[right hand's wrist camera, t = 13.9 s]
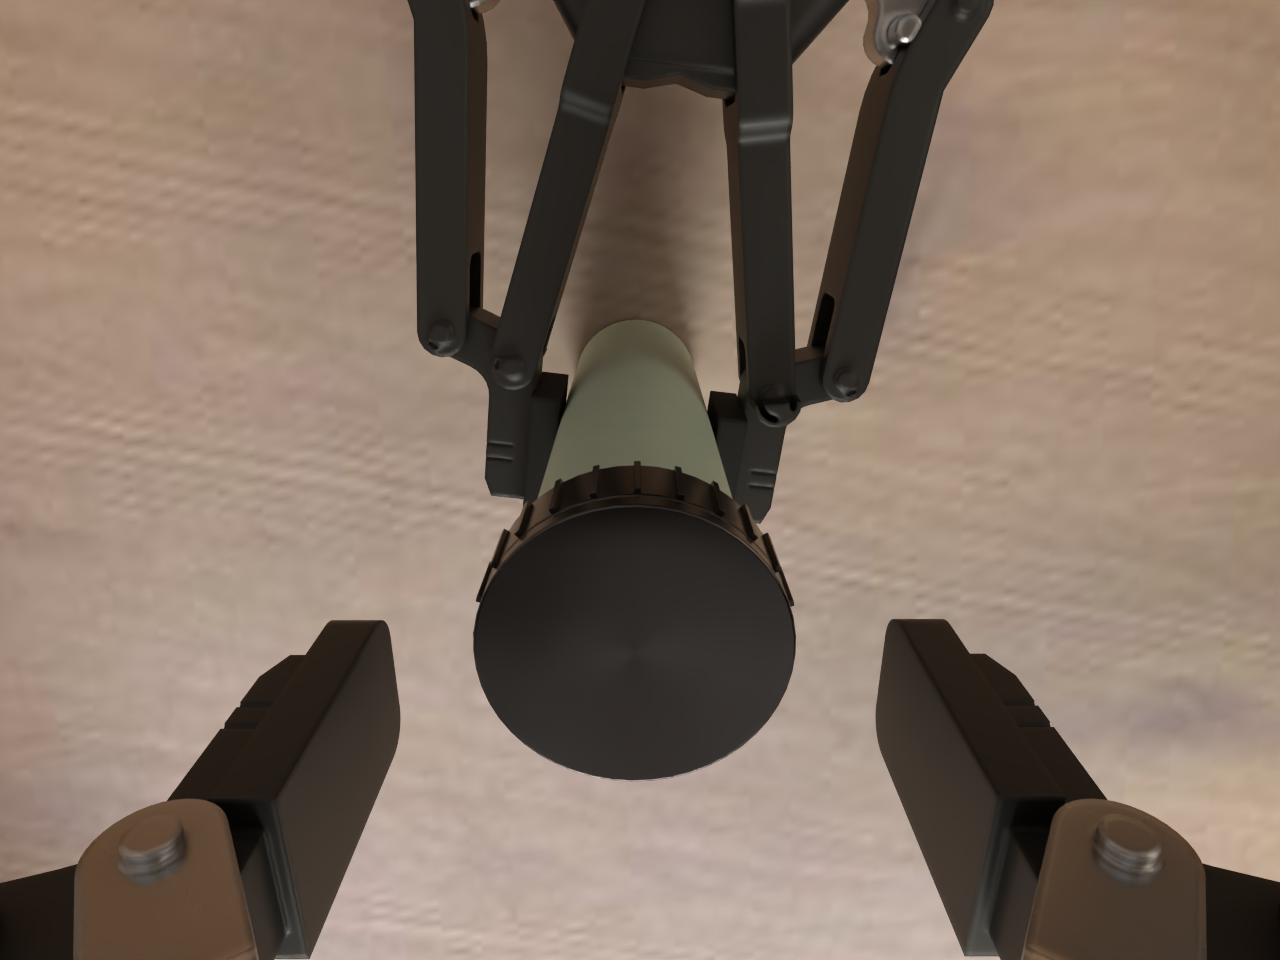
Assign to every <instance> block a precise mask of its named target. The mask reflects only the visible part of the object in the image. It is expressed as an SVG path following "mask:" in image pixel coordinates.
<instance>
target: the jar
mask: <svg viewBox="0 0 1280 960" xmlns="http://www.w3.org/2000/svg"><path fill="white" fill-rule="evenodd" d="M634 461H641V465H642V466H655V467H661V468H666V469H671V470H674V468H675V466H678V467H681V469H682V473H685V474H688V475H691V476H694V477H697V478H699V479H701V480H703V481H705V482H707V483H709V484H711V483H712V481H715V482H717V483H718V484H719V488H720V490H721V491H722V492H724V493H725V494H727V495H728V496H729V497H731V498H732V496H731V492H730V489H729V485H728V482H727V478H726V475H725V472H724V468H723V465H722V461H721V458H720V455H719V451H718V448H717V444H716V441H715V437H714V434H713V431H712V427H711V424H710V420H709V417H708V414H707V410H706V407H705V403H704V400H703V396H702V393H701V390H700V386H699V383H698V379H697V376H696V373H695V369H694V366H693V362H692V359H691V356H690V354H689V352H688V350H687V348H686V347H685V345H684V344H683V342H682V341H681V340H680V339H679V338H678V337H677V336H676V335H675V334H674V333H673V332H671V331H670V330H668V329H667V328H665V327H663V326H661V325H659V324H657V323H654V322H650V321H646V320H625V321H620V322H617V323H614V324H612V325H610V326H607V327H606V328H604V329H602V330H601V331H599V332H598V333H597V334H596V335H595V336H594V337H593V338H592V339H591V340H590V341H589V342H588V344H587V345H586V347H585V348H584V350H583V352H582V354H581V356H580V359H579V362H578V365H577V369H576V372H575V375H574V379H573V382H572V385H571V389H570V392H569V395H568V399H567V402H566V405H565V409H564V412H563V415H562V419H561V422H560V425H559V429H558V432H557V435H556V439H555V442H554V445H553V449H552V452H551V455H550V459H549V462H548V465H547V469H546V472H545V475H544V479H543V482H542V485H541V489H540V492H539V495H538V498H539V497H540V496H542V495H543V494H544V493H546V492H547V491H549V490H550V489H552V488H554V485H555V481H556V480H558V479H560V478H561V479H562V481H563V482H565V481H567V480H569V479H571V478H573V477H576V476H578V475H581V474H584V473H588V472H591V471H592V470H593V466H596V465H600V469H603V468H609V467H615V466H630V465H634Z"/></svg>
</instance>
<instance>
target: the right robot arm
mask: <svg viewBox="0 0 1280 960" xmlns="http://www.w3.org/2000/svg"><path fill="white" fill-rule="evenodd" d="M240 703H241V705H240V707H237V708H236V709H235V710H234V712H233V713H232V714H231V716H230V717H229V718H228V720H227V721H226V722H225V727H224V729H220V730H219V732H218V733H217V734H216V736H215V737H214V738H213V740H212V741H211V742H210V744H209V745H208V746H207V748H206V749H205V750H204V752H203V753H202V754H201V756H200V757H199V759H198V760H197V761H196V763H195V764H194V765H193V767H192V768H191V769H190V771H189V772H188V773H187V775H186V776H185V777H184V779H183V780H182V781H181V783H180V784H179V785H178V787H177V788H176V789H175V791H174V792H173V793H172V795H171V796H170V797H169V799H168V800H167V801H166V802H162V803H158V804H155V805H152V806H149V807H146V808H144V809H141V810H139V811H136V812H134V813H132V814H130V815H128V816H126V817H125V818H123V819H121V820H120V821H118V822H116V823H115V824H113V825H112V826H111V827H109V828H108V829H107V830H105V831H104V832H103V833H102V834H101V835H99V836H98V837H97V838H96V839H95V840H94V841H93V842H92V843H91V844H90V846H89V847H88V848H87V849H86V850H85V852H84V853H83V855H82V857H81V858H80V860H79V862H78V864H76V865H73V866H69V867H66V868H62V869H58V870H54V871H50V872H46V873H41V874H37V875H33V876H29V877H25V878H20V879H16V880H12V881H8V882H4V883H0V960H274V959H310V956H311V954H312V952H313V949H314V947H315V944H316V942H317V940H318V937H319V935H320V932H321V930H322V928H323V925H324V923H325V920H326V918H327V916H328V913H329V911H330V908H331V906H332V904H333V901H334V899H335V896H336V894H337V892H338V889H339V887H340V884H341V882H342V880H343V877H344V875H345V872H346V870H347V868H348V865H349V863H350V861H351V858H352V856H353V853H354V851H355V849H356V846H357V844H358V841H359V839H360V837H361V834H362V832H363V829H364V827H365V825H366V822H367V820H368V817H369V815H370V813H371V810H372V808H373V805H374V803H375V801H376V798H377V796H378V793H379V791H380V789H381V786H382V784H383V781H384V779H385V777H386V774H387V772H388V769H389V767H390V765H391V762H392V760H393V757H394V755H395V752H396V748H397V744H398V739H399V732H400V706H399V698H398V690H397V683H396V675H395V668H394V660H393V652H392V645H391V637H390V632H389V628H388V626H387V624H386V622H385V621H382V620H332V621H330V622H328V623H327V625H326V626H325V627H324V629H323V630H322V632H321V633H320V635H319V636H318V637H317V639H316V640H315V642H314V643H313V645H312V646H311V648H310V649H309V651H308V652H307V654H306V655H290V656H288V657H287V658H285V659H284V660H283V661H281V662H280V663H278V664H277V665H276V666H274V667H273V668H271V669H270V670H268V671H267V672H266V673H264V674H263V675H261V676H260V677H259V678H258V679H257V681H256V682H255V683H254V685H253V686H252V687H251V689H250V690H249V691H248V693H247V694H246V695H245V697H244V698H243V699H242V701H241V702H240ZM876 730H877V738H878V743H879V747H880V751H881V753H882V756H883V759H884V761H885V763H886V766H887V768H888V771H889V773H890V776H891V778H892V780H893V783H894V785H895V788H896V790H897V793H898V795H899V797H900V800H901V802H902V805H903V807H904V810H905V812H906V815H907V817H908V819H909V822H910V824H911V827H912V829H913V832H914V834H915V836H916V839H917V841H918V844H919V846H920V849H921V851H922V853H923V856H924V858H925V861H926V863H927V866H928V868H929V870H930V873H931V875H932V878H933V880H934V883H935V885H936V887H937V890H938V892H939V895H940V897H941V900H942V902H943V905H944V907H945V909H946V912H947V914H948V917H949V919H950V922H951V924H952V926H953V929H954V931H955V934H956V936H957V939H958V941H959V943H960V946H961V948H962V951H963V953H964V956H999V957H1000V959H1001V960H1280V882H1276V881H1272V880H1268V879H1264V878H1259V877H1255V876H1251V875H1247V874H1243V873H1238V872H1234V871H1230V870H1226V869H1222V868H1217V867H1213V866H1209V865H1206V864H1202V862H1201V860H1200V858H1199V857H1198V855H1197V853H1196V852H1195V850H1194V849H1193V848H1192V847H1191V846H1190V844H1189V843H1188V842H1187V841H1186V840H1185V839H1184V838H1183V837H1182V836H1181V835H1179V834H1178V833H1177V832H1176V831H1175V830H1173V829H1172V828H1171V827H1169V826H1168V825H1167V824H1165V823H1163V822H1162V821H1160V820H1159V819H1157V818H1155V817H1154V816H1152V815H1150V814H1148V813H1146V812H1144V811H1141V810H1139V809H1136V808H1134V807H1131V806H1128V805H1125V804H1122V803H1118V802H1114V801H1109V800H1107V799H1106V797H1105V796H1104V794H1103V793H1102V792H1101V790H1100V789H1099V788H1098V786H1097V785H1096V784H1095V782H1094V781H1093V780H1092V778H1091V777H1090V775H1089V774H1088V773H1087V771H1086V770H1085V769H1084V767H1083V766H1082V765H1081V763H1080V762H1079V761H1078V759H1077V758H1076V756H1075V755H1074V754H1073V752H1072V751H1071V750H1070V748H1069V747H1068V746H1067V744H1066V743H1065V742H1064V740H1063V739H1062V738H1061V736H1060V735H1059V733H1058V732H1057V731H1056V729H1055V728H1054V727H1050V721H1049V720H1048V719H1047V717H1046V716H1045V714H1044V713H1043V712H1042V710H1041V709H1040V708H1039V706H1035V704H1034V700H1033V698H1032V697H1031V696H1030V694H1029V693H1028V691H1027V690H1026V689H1025V687H1024V686H1023V685H1022V683H1021V682H1020V681H1019V679H1018V678H1017V677H1016V675H1014V674H1013V673H1012V672H1010V671H1009V670H1007V669H1006V668H1004V667H1003V666H1002V665H1000V664H999V663H997V662H996V661H995V660H993V659H992V658H990V657H989V656H987V655H986V654H970V653H969V652H968V651H967V649H966V648H965V646H964V645H963V643H962V642H961V640H960V639H959V637H958V636H957V634H956V633H955V631H954V630H953V628H952V627H951V625H950V624H949V623H948V622H947V621H946V620H944V619H892V620H891V621H890V622H889V624H888V626H887V630H886V635H885V642H884V650H883V658H882V666H881V673H880V681H879V689H878V697H877V704H876Z"/></svg>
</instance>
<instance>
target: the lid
mask: <svg viewBox="0 0 1280 960" xmlns="http://www.w3.org/2000/svg"><path fill="white" fill-rule="evenodd" d="M476 602H480V605H479V608H478V611H477V614H476V620H475V626H474V632H473V651H474V658H475V665H476V670H477V673H478V677H479V680H480V683H481V686H482V688H483V691H484V693H485V695H486V697H487V699H488V701H489V703H490V705H491V706H492V708H493V709H494V711H495V712H496V714H497V716H498V717H499V718H500V720H501V721H502V722H503V723H504V724H505V725H506V727H507V728H508V729H509V730H510V731H511V732H512V733H513V734H514V735H515V736H516V737H517V738H518V739H519V740H521V741H522V742H523V743H524V744H525V745H526V746H528V747H529V748H531V749H532V750H534V751H535V752H536V753H538V754H539V755H541V756H543V757H544V758H546V759H548V760H550V761H552V762H554V763H556V764H557V765H560V766H562V767H565V768H567V769H570V770H572V771H575V772H578V773H582V774H585V775H589V776H592V777H598V778H603V779H609V780H619V781H652V780H659V779H666V778H672V777H676V776H680V775H684V774H688V773H691V772H694V771H696V770H699V769H702V768H704V767H707V766H709V765H711V764H713V763H715V762H717V761H719V760H721V759H723V758H725V757H727V756H728V755H730V754H731V753H733V752H734V751H736V750H737V749H739V748H740V747H741V746H743V745H744V744H745V743H746V742H747V741H748V740H750V739H751V738H752V737H753V736H754V735H755V734H756V733H757V732H758V731H759V730H760V729H761V728H762V727H763V726H764V724H765V723H766V722H767V721H768V720H769V718H770V717H771V715H772V714H773V712H774V711H775V710H776V708H777V707H778V705H779V703H780V701H781V699H782V697H783V695H784V693H785V691H786V689H787V686H788V683H789V680H790V677H791V674H792V671H793V665H794V659H795V652H796V633H795V625H794V618H793V614H792V611H791V607H790V606H794V601H793V598H792V595H791V593H790V590H789V587H788V584H787V582H786V579H785V576H784V573H783V571H782V568H781V566H780V563H779V560H778V557H777V555H776V552H775V549H774V546H773V544H772V541H771V538H770V536H769V534H768V533H766V534H764V535H763V534H762V532H761V531H760V529H759V528H758V526H757V525H756V523H755V522H754V520H753V519H752V516H751V513H750V510H749V507H748V506H747V505H746V504H743V505H742V506H740V505H739V504H738V503H736V502H735V501H734V500H733V499H732V498H731V497H729V496H728V495H727V494H725V493H724V492H722V491H721V490H720V488H719V484H718V483H717V482H715V481H712V483H711V484H709V483H707V482H705V481H703V480H701V479H699V478H697V477H694V476H691V475H688V474H685V473H682V469H681V467H678V466H675V468H674V470H671V469H666V468H661V467H655V466H642V465H641V461H634V465H630V466H615V467H609V468H603V469H600V465H596V466H593V470H592V471H591V472H588V473H584V474H581V475H578V476H576V477H573V478H571V479H569V480H567V481H565V482H563V481H562V479H561V478H560V479H558V480H556V481H555V485H554V488H552V489H550V490H549V491H547V492H546V493H544V494H543V495H542V496H540V497H539V498H538V499H537V500H535V501H534V502H533V503H531V502H530V501H529V500H528V501H527V502H526V503H525V504H524V506H523V509H522V512H521V515H520V516H519V517H518V518H517V520H516V521H515V523H514V524H513V526H512V527H511V528H510V530H509V531H507V530H505V529H504V530H503V532H502V533H501V536H500V539H499V541H498V544H497V547H496V550H495V552H494V555H493V558H492V560H491V562H490V563H489V565H488V568H487V571H486V573H485V576H484V579H483V581H482V584H481V587H480V589H479V592H478V595H477V598H476Z"/></svg>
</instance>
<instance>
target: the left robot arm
mask: <svg viewBox="0 0 1280 960" xmlns="http://www.w3.org/2000/svg"><path fill="white" fill-rule="evenodd" d="M499 1H500V0H408V3H409V6H410V9H411V12H412V15H413V18H414V69H415V163H416V258H417V332H418V337H419V341H420V343H421V344H422V346H423V347H424V349H425V350H427V351H428V352H430V353H431V354H432V355H436V356H439V357H447V356H450V357H452V358H454V359H456V360H458V361H460V362H462V363H464V364H467V365H469V366H471V367H472V368H474V369H475V370H477V371H478V372H479V373H480V374H481V375H482V376H483V378H484V379H485V381H486V383H487V386H488V389H489V411H488V430H487V449H486V468H485V480H486V482H487V485H488V488H489V491H490V493H491V496H500V497H509V498H518V499H524V501H523V506H524V504H525V503H526V502H527V501H528V500H529V501H530V502H531V503H533V502H534V501H535V500H537V499H538V495H539V492H540V489H541V485H542V482H543V479H544V475H545V472H546V469H547V465H548V462H549V459H550V455H551V452H552V449H553V445H554V442H555V439H556V435H557V432H558V429H559V425H560V422H561V419H562V415H563V412H564V409H565V405H566V398H567V386H568V375H566V374H558V373H549V372H542V363H543V356H544V354H545V352H546V350H547V349H546V348H547V344H548V341H549V338H550V334H551V331H552V328H553V325H554V321H555V318H556V315H557V311H558V308H559V305H560V301H561V298H562V295H563V291H564V288H565V285H566V281H567V278H568V275H569V271H570V268H571V265H572V261H573V258H574V255H575V251H576V248H577V245H578V242H579V238H580V235H581V232H582V228H583V225H584V222H585V218H586V215H587V212H588V208H589V205H590V202H591V198H592V195H593V192H594V188H595V185H596V182H597V178H598V175H599V172H600V169H601V165H602V162H603V159H604V155H605V152H606V149H607V145H608V142H609V139H610V135H611V132H612V129H613V126H614V123H615V121H616V118H617V115H618V111H619V108H620V105H621V101H622V98H623V95H624V92H625V88H626V86H628V87H636V88H643V89H645V88H651V87H657V86H663V85H669V84H679V85H681V86H683V87H686V88H688V89H690V90H692V91H695V92H697V93H699V94H701V95H704V96H706V97H712V98H720V99H722V101H723V121H724V132H725V139H726V144H727V159H728V178H729V198H730V218H731V237H732V257H733V276H734V296H735V315H736V335H737V354H738V374H739V380H740V385H739V391H738V397H737V395H736V394H734V393H725V392H716V391H710V397H709V404H708V410H707V414H708V417H709V420H710V424H711V427H712V431H713V434H714V437H715V441H716V444H717V448H718V451H719V455H720V458H721V461H722V465H723V468H724V472H725V475H726V478H727V482H728V485H729V489H730V492H731V496H732V499H733V500H734V501H735V502H736V503H738V504H739V505H740V506H742V505H743V504H746V505H747V506H748V507H749V510H750V513H751V516H752V519H753V520H754V522H755V523H759V524H760V523H761V522H762V520H763V519H764V517H765V516H766V514H767V513H768V511H769V510H770V508H771V502H772V497H773V492H774V487H775V481H776V474H777V471H778V466H779V461H780V455H781V450H782V445H783V440H784V434H785V429H786V426H787V425H788V424H789V423H791V422H792V421H794V420H795V419H796V417H797V416H798V414H799V412H800V410H801V408H802V407H805V406H808V405H811V404H815V403H819V402H824V401H828V400H836V401H839V402H850V401H853V400H855V399H857V398H859V397H860V396H861V395H862V394H863V393H864V392H865V390H866V388H867V386H868V384H869V381H870V377H871V373H872V369H873V365H874V361H875V357H876V353H877V349H878V346H879V342H880V338H881V334H882V330H883V326H884V322H885V318H886V314H887V310H888V306H889V302H890V299H891V295H892V291H893V287H894V283H895V279H896V275H897V271H898V267H899V263H900V259H901V256H902V252H903V248H904V244H905V240H906V236H907V232H908V228H909V224H910V220H911V216H912V212H913V209H914V205H915V201H916V197H917V193H918V189H919V185H920V181H921V177H922V173H923V169H924V165H925V162H926V158H927V154H928V150H929V146H930V142H931V138H932V134H933V130H934V126H935V122H936V118H937V115H938V111H939V107H940V103H941V99H942V95H943V91H944V89H945V88H946V86H947V84H948V83H949V81H950V79H951V78H952V76H953V74H954V73H955V71H956V70H957V68H958V66H959V65H960V63H961V61H962V60H963V58H964V56H965V55H966V53H967V52H968V50H969V48H970V47H971V45H972V43H973V42H974V40H975V38H976V37H977V35H978V33H979V32H980V30H981V29H982V27H983V25H984V24H985V22H986V20H987V19H988V17H989V15H990V12H991V10H992V7H993V4H994V0H865V2H866V4H867V8H868V23H867V26H866V30H865V33H864V37H863V46H864V51H865V54H866V55H867V57H868V59H869V60H870V61H871V62H873V63H874V64H875V65H877V66H876V68H875V69H874V71H873V73H872V76H871V78H870V81H869V83H868V86H867V89H866V91H865V94H864V98H863V101H862V105H861V108H860V112H859V116H858V121H857V125H856V130H855V134H854V139H853V143H852V148H851V152H850V156H849V161H848V165H847V170H846V174H845V179H844V183H843V188H842V192H841V197H840V201H839V206H838V210H837V215H836V219H835V224H834V228H833V233H832V237H831V242H830V246H829V251H828V255H827V259H826V264H825V268H824V273H823V277H822V282H821V286H820V291H819V295H818V300H817V304H816V309H815V313H814V318H813V322H812V327H811V331H810V336H809V340H808V345H807V347H804V348H800V349H795V326H794V286H793V246H792V206H791V165H790V133H791V128H792V122H793V82H792V64H793V63H794V62H795V61H796V60H797V59H798V57H799V56H800V55H801V54H802V53H803V52H804V51H805V49H806V48H807V47H808V46H809V45H810V44H811V43H812V42H813V40H814V39H815V38H816V37H817V36H818V35H819V34H820V32H821V31H822V30H823V29H824V28H825V27H826V26H827V25H828V23H829V22H830V21H831V20H832V19H833V18H834V17H835V16H836V14H837V13H838V12H839V11H840V10H841V9H842V8H843V6H844V5H845V4H846V3H847V2H848V1H849V0H553V1H554V2H555V4H556V6H557V8H558V10H559V12H560V14H561V16H562V18H563V20H564V22H565V24H566V26H567V27H568V29H569V31H570V33H571V35H572V37H573V39H574V45H573V48H572V52H571V56H570V59H569V63H568V67H567V70H566V74H565V77H564V81H563V85H562V90H561V95H560V102H559V107H558V112H557V115H556V119H555V123H554V126H553V130H552V133H551V137H550V141H549V144H548V148H547V151H546V155H545V159H544V162H543V166H542V170H541V173H540V177H539V180H538V184H537V188H536V191H535V195H534V198H533V202H532V206H531V209H530V213H529V217H528V220H527V224H526V227H525V231H524V235H523V238H522V242H521V245H520V249H519V253H518V256H517V260H516V263H515V267H514V271H513V274H512V278H511V282H510V285H509V289H508V292H507V296H506V300H505V303H504V307H503V310H502V314H501V317H499V316H497V315H495V314H493V313H491V312H489V311H487V310H485V309H483V272H484V218H485V164H486V110H487V42H486V34H485V27H484V21H483V16H482V13H484V12H487V11H489V10H491V9H493V8H494V7H495V6H496V5H497V4H498V3H499Z"/></svg>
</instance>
